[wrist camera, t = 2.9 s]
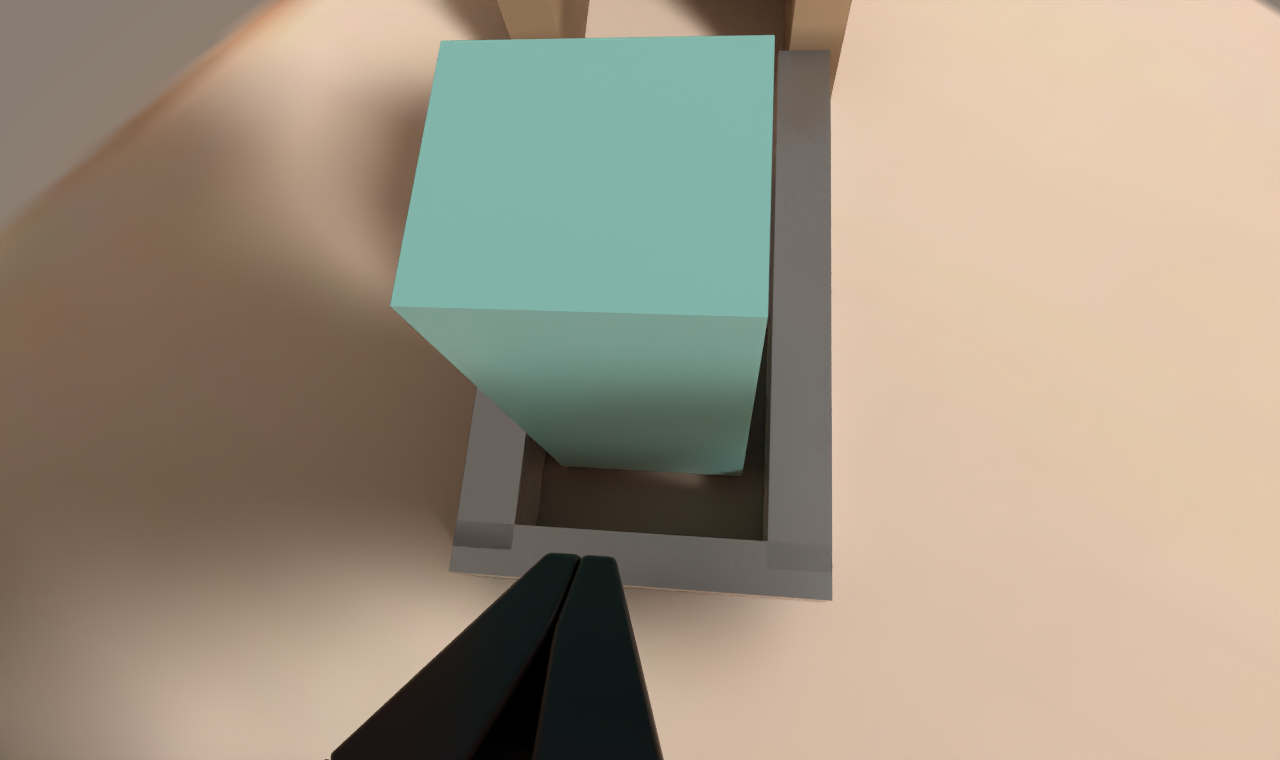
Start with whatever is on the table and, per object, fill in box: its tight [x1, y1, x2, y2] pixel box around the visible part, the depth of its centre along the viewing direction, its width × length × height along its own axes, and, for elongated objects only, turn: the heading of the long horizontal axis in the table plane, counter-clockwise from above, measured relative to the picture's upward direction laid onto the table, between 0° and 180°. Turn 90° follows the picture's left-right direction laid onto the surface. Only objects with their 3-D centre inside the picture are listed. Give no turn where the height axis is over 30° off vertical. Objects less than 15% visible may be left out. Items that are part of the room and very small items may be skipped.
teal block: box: [390, 35, 775, 476], centre depth 13 cm, size 8×4×9 cm, turn 176°
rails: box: [449, 50, 832, 602], centre depth 17 cm, size 12×7×2 cm, turn 176°
